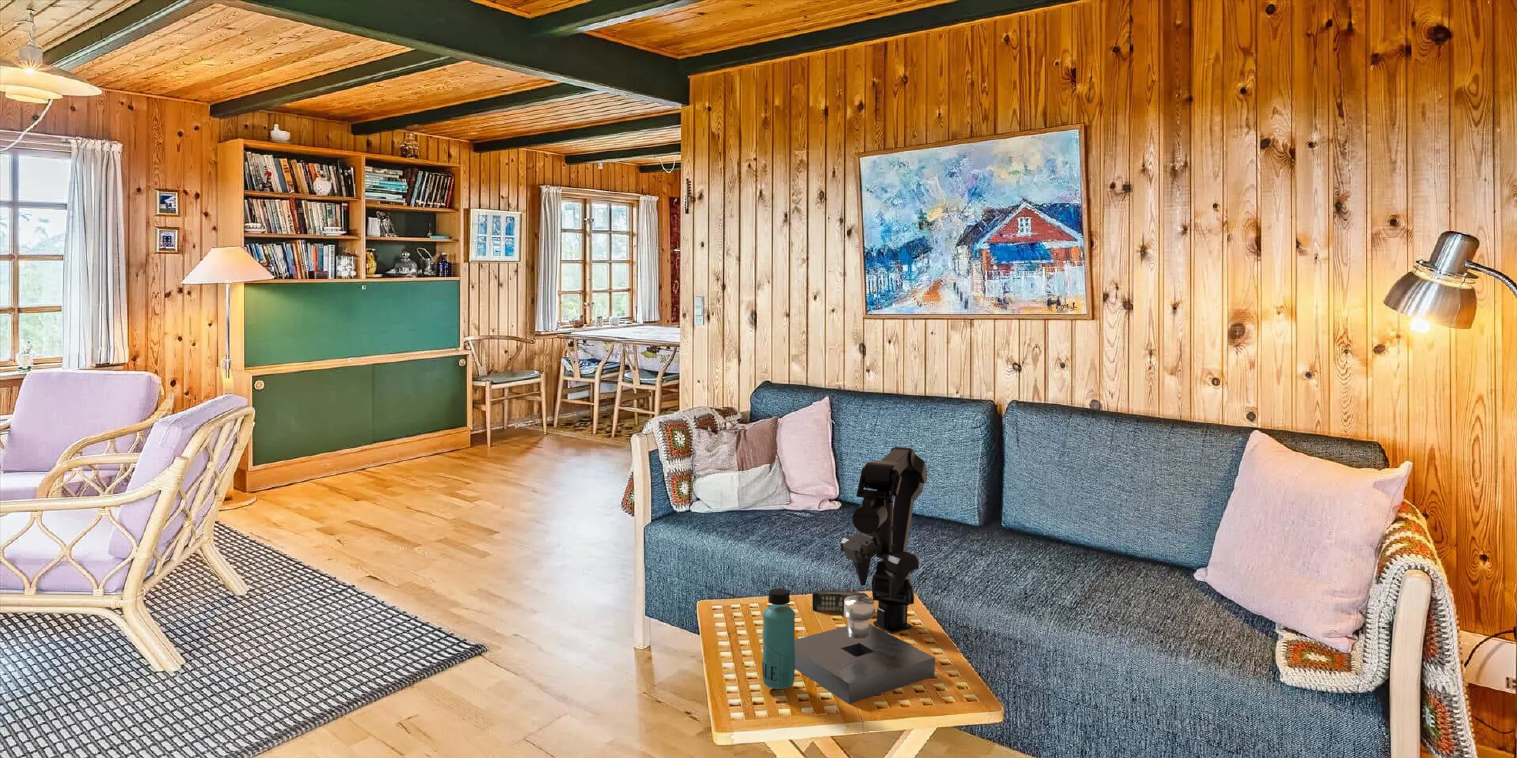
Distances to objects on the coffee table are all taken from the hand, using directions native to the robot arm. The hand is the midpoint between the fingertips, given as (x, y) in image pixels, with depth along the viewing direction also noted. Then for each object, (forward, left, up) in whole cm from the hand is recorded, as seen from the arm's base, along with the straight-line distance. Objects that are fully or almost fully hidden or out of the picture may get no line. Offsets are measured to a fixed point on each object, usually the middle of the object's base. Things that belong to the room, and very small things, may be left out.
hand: (877, 591), depth 189 cm
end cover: (+10, +6, -5) cm, 12 cm away
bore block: (+10, +6, -13) cm, 17 cm away
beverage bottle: (+29, +5, -13) cm, 32 cm away
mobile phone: (-8, -21, -13) cm, 26 cm away
